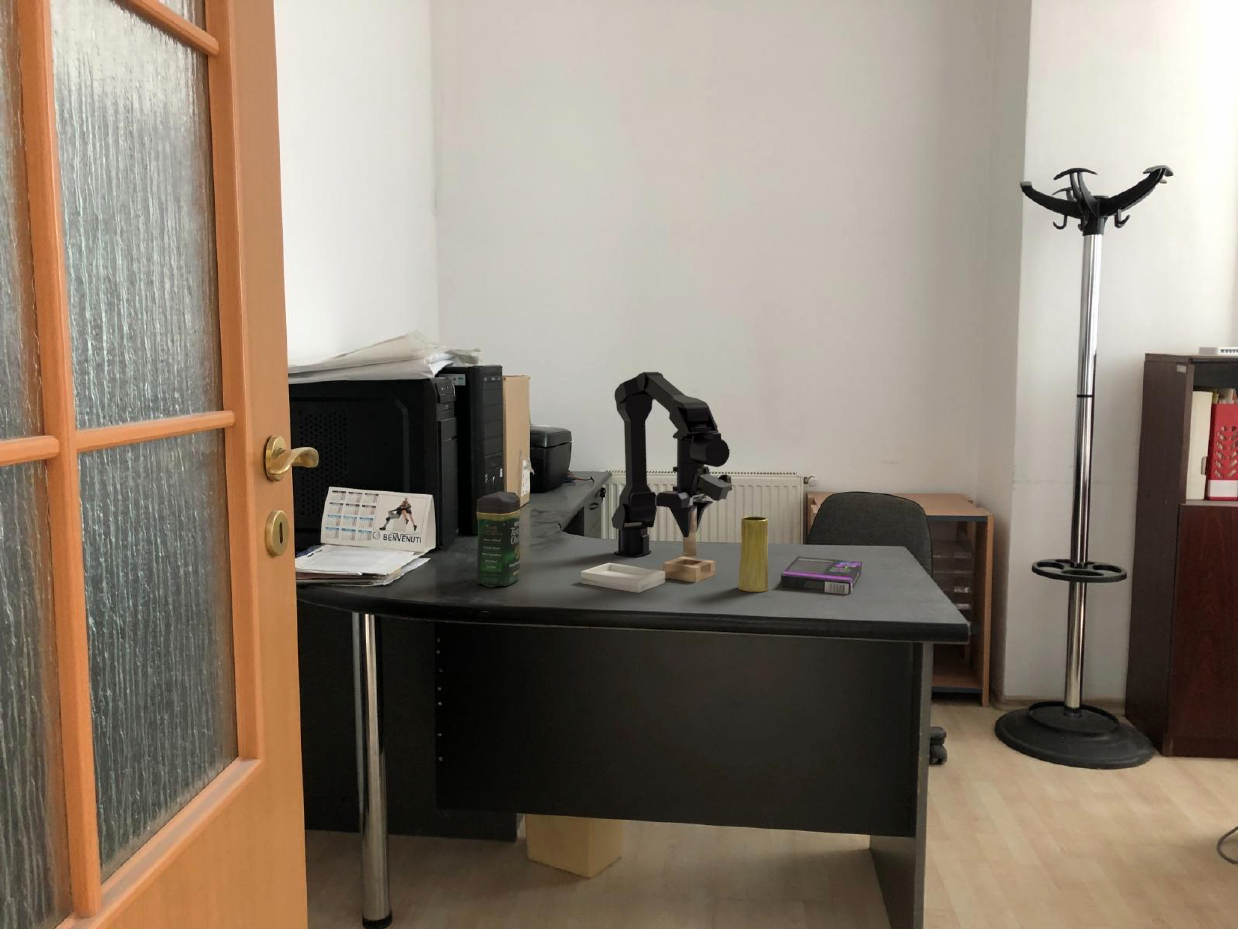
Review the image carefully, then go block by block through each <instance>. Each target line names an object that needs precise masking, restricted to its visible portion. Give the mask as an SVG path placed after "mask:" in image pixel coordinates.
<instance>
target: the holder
mask: <svg viewBox="0 0 1238 929" xmlns="http://www.w3.org/2000/svg"><path fill="white" fill-rule="evenodd" d="M662 571H665V579H674V580H679V581H686V582H690V583H691V582H692V583H698V582H701V581H703V580H706V579H708V578H711V577H713V576H715V575H716V561H715V560H710V559H702V558H697V557H696V558H695V557H690V556H680V557H679V556H678V557H677V558H674V559H671V560H668V561H665V562H663V563H662Z"/></svg>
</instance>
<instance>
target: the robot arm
mask: <svg viewBox="0 0 1238 929" xmlns="http://www.w3.org/2000/svg"><path fill="white" fill-rule="evenodd" d="M613 396H614V400H615V405H616V411H617V413H618V415H619V416H620V417H621V419H622V421H623V425H624V426H623V427H624V428H623V429H624V462H625V463H624V464H625V466H624V467H625V470H624V471H625V485H624V487H623V489H622V491H621V493H620V494H619V497H618V506H617V508H616V510H615V511H614V513H613V515H612V517H611V524H612V528H613V529H617V531H618V532H617V540H618V542H617V550H615V551H613V552H614V554H615V555H620V556H621V555H622V556H626V557H636V558H637V557H642V556H645V555H647V554H650V553H652V550H651V549H650V534H649V528H651V529H652V528H654V526H655V522H656V521H655V520H656V516H657V513H658V512H657V511H658V507H662V508H669V510H670V512H671V515H672V516H673V517H674V519H675V522H676V524H677V526H678V528H679V530H680V532H681V534H682V538H683V537H689V532H690V524H691V515H692V512H693V511H694V510H695V509H696V508H697V531H699V527H700V523H701V521H702V517H703V514H704V513H705V510H706V509H707V508H708V507H709V506H711V505H712V504H713V503H714V501H716V502H720V501H722V500H726V499H727V496H728V493H729V492H731V491H733V487H732V486H733V483H732V477H731V475H729V474H727V473H723V474H721V475H719V476H717V475H715V476H714V475H712V474H710V468H709V467H713V468H714V467H715V468H719V467H720V468H721V467H723V466H725V464H726V463H727V461H729V457H730V448H729V445H728V444H727V443H728V442H726V441H725V440H724V439H722V433H721V432H719V429H718V426H719V425H718V424H717V423H716V421H715V419H714V416H713V414H712V411H711V408H710V406H709V404H708V403H707V402H706V401H704V400H702V399H700V398H697V397H693V396H688V395H686V394H685V393H683V392H682V391H681V390H680V389H678V388H677V387H676V386H674V385H673V384H672V383H671V382H670V381H668V380H667V379H666V378H665V377H664V375H663V373H661V372H658V371H643V372H642V371H641V373H638V374H637V375H636V376H635V377H633V378H630V379H628V380H625V381H623V382H621V383H620V384H619V385H618V386H617V388H615V390H614V395H613ZM654 400H655V401H656V402H657V403H659V405H660V406H662V407H663V408H664V409H665V410H666V411H667V412H668V413H669V416H668V419H669V420H670V422H671V423H672V425H674V427H675V428H676V429H677V430H676V431H675V432H674V433H673V435H672V438H673V439H676V466H672V472H673V473H676V485H674V486H672V490H664V491H660V492H658V493H657V494H656V492H655V491H652V490H651V488H650V486H649V485H648V474H647V473H648V467H647V464H648V463H647V462H648V461H647V433H646V430H647V429H646V427H647V426H646V421H647V420H648V417H649V415H650V413H651V412H652V410H653V401H654ZM708 497H709V498H710V499H711V500H708V499H709V498H708Z"/></svg>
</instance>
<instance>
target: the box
mask: <svg viewBox="0 0 1238 929" xmlns="http://www.w3.org/2000/svg"><path fill="white" fill-rule="evenodd" d="M862 569H863V561H854V560H852V561H851V560H842V559H836V558H835V559H832V558H821V557H820V558H819V557H808V556H807V557H806V556H800V555H799V556H796V558H795V559H794V560H793V561H791V563H790V564H789V565H788V566H787V567H786V569H784V570H783V572H782V573H781V574H780V588H781V589H788V590H796V591H797V590H798V591H809V592H820V593H821V592H822V593H831V594H844V595H851V594H852V592H853V590H854V588H855V586H856V584H857V583H858V580H859V579H860V577H861V575H862Z"/></svg>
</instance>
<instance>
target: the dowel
mask: <svg viewBox="0 0 1238 929" xmlns="http://www.w3.org/2000/svg"><path fill="white" fill-rule="evenodd" d="M697 533H698V530H697V508H696V509H695V510H694V511H693V512H692V515H691V524H690V532H689V537H683V536H682V556H683V557H696V556H697V537H698V536H697Z"/></svg>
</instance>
